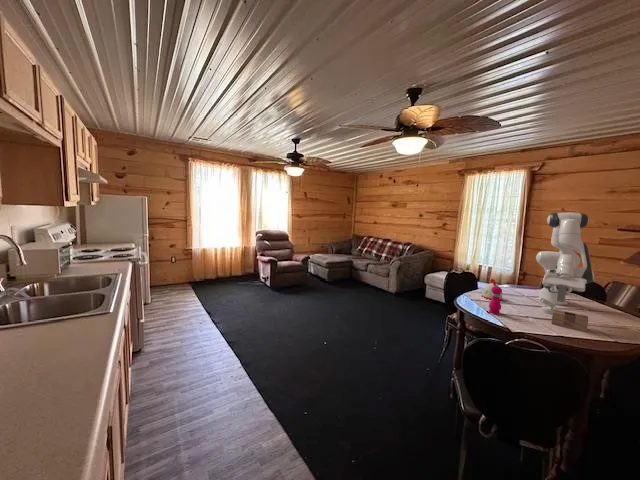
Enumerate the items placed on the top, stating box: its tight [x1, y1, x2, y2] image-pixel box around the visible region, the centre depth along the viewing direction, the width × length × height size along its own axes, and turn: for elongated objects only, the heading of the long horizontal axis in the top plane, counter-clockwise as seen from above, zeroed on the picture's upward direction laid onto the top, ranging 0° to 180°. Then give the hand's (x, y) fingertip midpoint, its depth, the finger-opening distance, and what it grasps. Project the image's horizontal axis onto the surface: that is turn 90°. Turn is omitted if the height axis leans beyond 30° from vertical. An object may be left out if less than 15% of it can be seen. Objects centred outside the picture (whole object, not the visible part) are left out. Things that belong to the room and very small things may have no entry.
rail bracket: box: [557, 284, 567, 302], centre depth 173 cm, size 4×4×10 cm
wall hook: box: [539, 298, 558, 315], centre depth 196 cm, size 9×10×10 cm
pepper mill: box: [488, 283, 503, 315], centre depth 191 cm, size 7×7×20 cm
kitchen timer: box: [481, 278, 503, 302], centre depth 223 cm, size 14×14×15 cm
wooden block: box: [550, 308, 589, 333], centre depth 173 cm, size 8×16×8 cm, turn 49°
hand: (561, 293), depth 173 cm, fingers closed on rail bracket, 3 cm apart
